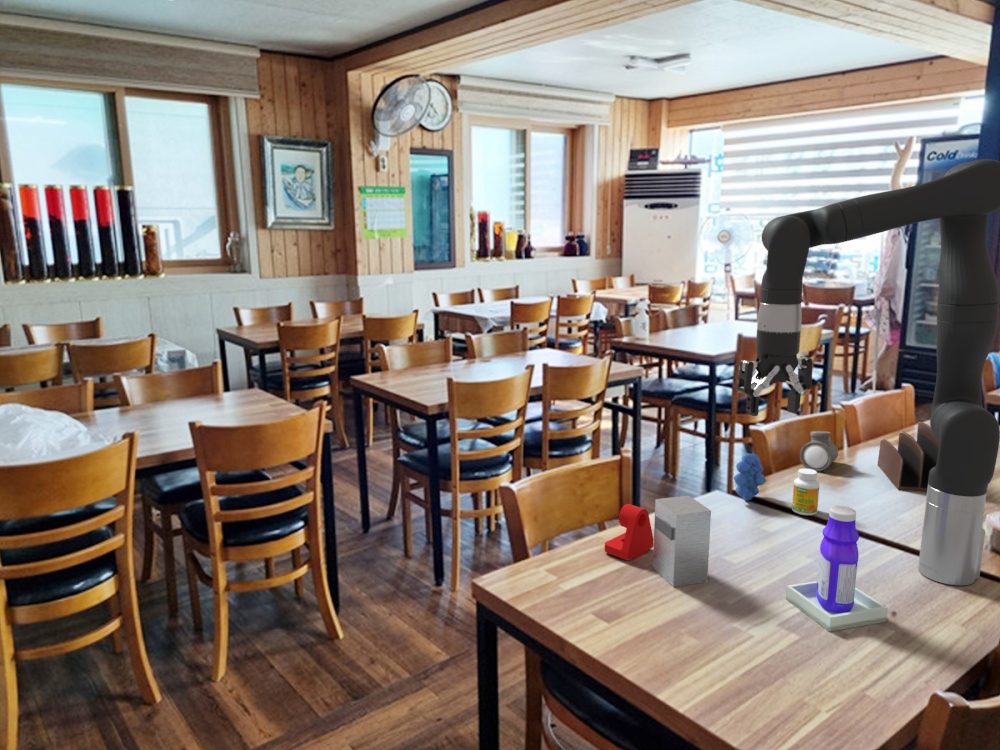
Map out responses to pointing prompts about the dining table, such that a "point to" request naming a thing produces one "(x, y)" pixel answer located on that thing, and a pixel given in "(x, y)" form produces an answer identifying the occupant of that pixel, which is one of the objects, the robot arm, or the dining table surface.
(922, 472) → the letter holder
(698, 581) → the dispenser
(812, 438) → the pipe fitting
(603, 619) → the dining table surface
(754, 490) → the grapes
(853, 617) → the tray
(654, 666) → the dining table surface
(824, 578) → the bottle
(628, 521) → the bracket
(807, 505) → the supplement bottle
